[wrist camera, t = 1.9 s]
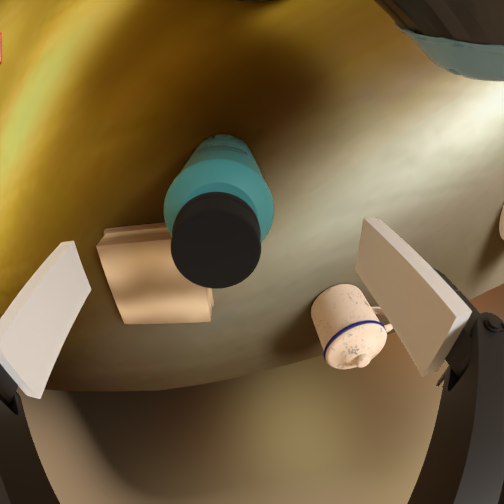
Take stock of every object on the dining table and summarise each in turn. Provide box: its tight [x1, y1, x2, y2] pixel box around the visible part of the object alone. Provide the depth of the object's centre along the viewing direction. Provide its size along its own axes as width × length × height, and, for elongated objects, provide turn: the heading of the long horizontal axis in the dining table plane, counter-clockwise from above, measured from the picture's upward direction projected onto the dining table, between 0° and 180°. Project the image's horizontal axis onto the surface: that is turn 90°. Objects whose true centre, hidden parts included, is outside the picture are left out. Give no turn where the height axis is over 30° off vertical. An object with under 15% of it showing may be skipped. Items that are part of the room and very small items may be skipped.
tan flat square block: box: [96, 222, 214, 324], centre depth 33 cm, size 13×13×4 cm
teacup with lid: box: [311, 284, 393, 369], centre depth 36 cm, size 12×9×12 cm
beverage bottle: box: [164, 133, 274, 288], centre depth 20 cm, size 6×7×20 cm
